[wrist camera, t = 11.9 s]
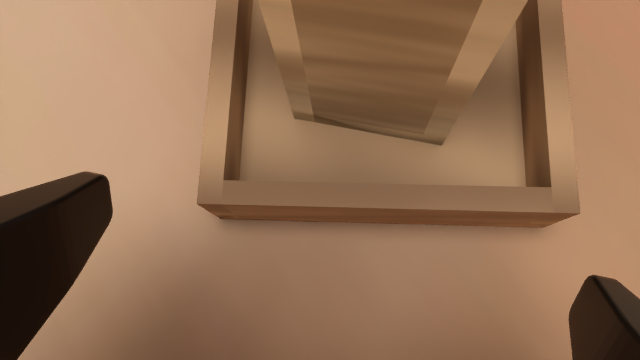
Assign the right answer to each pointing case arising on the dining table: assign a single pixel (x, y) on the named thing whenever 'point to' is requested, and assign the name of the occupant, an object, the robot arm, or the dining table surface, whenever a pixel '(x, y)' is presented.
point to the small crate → (386, 60)
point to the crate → (391, 140)
